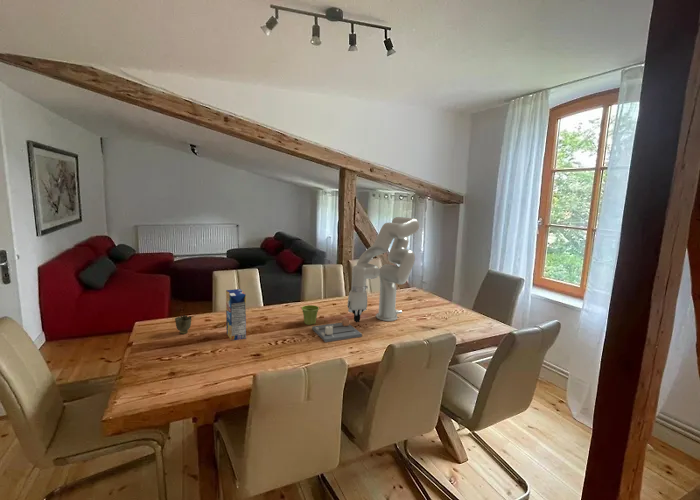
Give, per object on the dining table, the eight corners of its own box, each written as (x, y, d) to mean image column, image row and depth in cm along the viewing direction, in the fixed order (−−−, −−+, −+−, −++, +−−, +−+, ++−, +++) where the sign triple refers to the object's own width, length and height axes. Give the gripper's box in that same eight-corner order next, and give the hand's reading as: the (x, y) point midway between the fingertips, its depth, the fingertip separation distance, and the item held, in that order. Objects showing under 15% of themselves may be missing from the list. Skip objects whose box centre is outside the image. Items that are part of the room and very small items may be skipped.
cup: (195, 331, 185) (194, 316, 184) (184, 336, 178) (183, 321, 177) (183, 329, 187) (182, 314, 186) (172, 334, 180) (171, 318, 179)
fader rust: (347, 323, 199) (347, 317, 199) (349, 325, 197) (349, 318, 196) (342, 324, 198) (342, 318, 197) (344, 326, 196) (344, 319, 195)
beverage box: (231, 340, 176) (231, 296, 172) (226, 332, 185) (226, 290, 182) (245, 338, 179) (245, 294, 176) (240, 330, 189) (240, 288, 185)
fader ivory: (330, 332, 186) (330, 325, 186) (332, 334, 184) (332, 327, 184) (325, 333, 185) (325, 326, 184) (327, 335, 183) (327, 328, 182)
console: (346, 324, 204) (346, 320, 203) (361, 336, 188) (362, 331, 187) (312, 329, 195) (312, 324, 194) (325, 342, 179) (325, 337, 178)
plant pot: (315, 326, 198) (316, 311, 197) (298, 325, 200) (299, 309, 198) (320, 321, 207) (321, 306, 206) (304, 319, 209) (304, 304, 208)
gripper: (367, 285, 204) (365, 317, 207) (342, 287, 197) (341, 320, 200) (374, 289, 197) (372, 322, 200) (349, 291, 191) (347, 325, 193)
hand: (356, 321), depth 200 cm, fingers closed
